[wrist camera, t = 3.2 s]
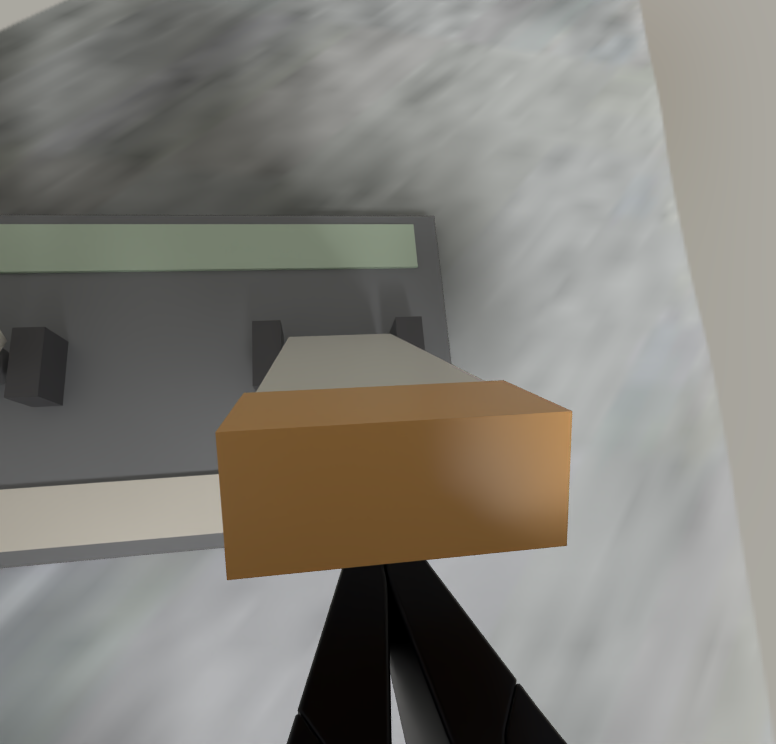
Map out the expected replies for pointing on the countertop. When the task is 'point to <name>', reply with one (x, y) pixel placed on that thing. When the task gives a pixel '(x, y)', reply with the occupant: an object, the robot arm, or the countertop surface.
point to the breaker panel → (171, 358)
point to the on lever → (3, 359)
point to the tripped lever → (386, 461)
